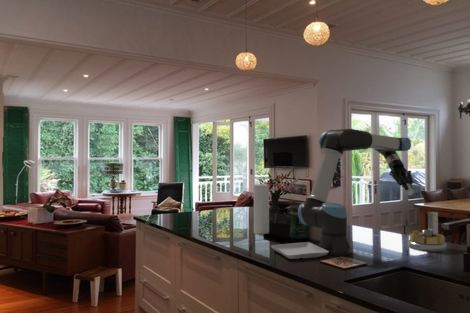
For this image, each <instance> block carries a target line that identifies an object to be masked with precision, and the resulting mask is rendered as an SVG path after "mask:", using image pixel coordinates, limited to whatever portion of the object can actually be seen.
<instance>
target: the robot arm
mask: <svg viewBox="0 0 470 313" xmlns="http://www.w3.org/2000/svg"><path fill="white" fill-rule="evenodd" d="M318 144H319V149H320V153H322V156H321V159H320V161H319V166H318V169H317V172H316V176H315V179H314V183H313V185H312V189H311V193H310V195H309V196H306V199H305V202H303V203H300V205H298V206H299V209H298V217H299V219H300V221H301V222H302V223H303V224H304V225H306V226H307V227H314V228H318V229H321V239H320V242H319V244H318V246H319V247H321V248H323V249H325V250H327V251H329V253H328V254H326V255H325V256H339V257H342V256H348V255H350V254H351V252H352V251H351V250H352V249H351V245H350V242H349V240H348V233H347V232H348V229H347V228H348V213H347V208H346V206H345V205H344V204H341V203H337V202H328V201H327V200H328V196H329V194H330V190H331V187H332V182H333V179H334V177H335V176H334V175H335V172H336V169H337V165H338V162H339V159H340V158H343V154H344V153H345V152H351V151H357V150H368V149H373V150H375V151H376V152H377V153H378V154H380V155H382V156H383V157H384V159H385V161H386V163H387V165H388V166H389V169H390V171H389V173H388V174H389V176H390V177H392V178H393V180H394V182H396V183H397V185H399V186H401V187H402V188H404V190H405V191H406V192H407V194H408V195H409V196H410V197H411V196H413V195H414V194H415V190H414V188H413V186H412V185H413V183H414V180H413V177H412V171H411V170H407V169H406V168H405V165H404V163H403V161H402V159H401V157H400V156H399V154H398V152H407V151H409V150H410V149H411V148H412V147H411V146H412V141H411V139H410V138H409V137H398V136H397V137H395V136H388V135H380V134H374V133H373V134H372V133H370V132H369V131H366V130H360V129H353V128H341V129H330V130H326V131H324V132H323V133H322V134H321V135H320V137H319V139H318Z"/></svg>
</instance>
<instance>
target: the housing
mask: <svg viewBox="0 0 470 313" xmlns="http://www.w3.org/2000/svg"><path fill="white" fill-rule="evenodd" d="M421 232H422V234H424V237H432V230H428V228H427V229H422V230H421ZM408 248H409V249H412V250H415V251H419V252H420V251H422V252H429V253H442V252H445V251H447V242H445V243H443V244H426V243H425V244H422V243H417V242H413V241H411V240H410V239H409V240H408Z"/></svg>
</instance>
